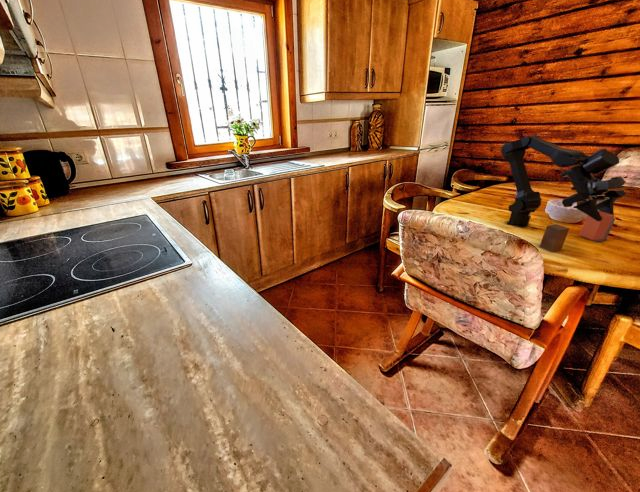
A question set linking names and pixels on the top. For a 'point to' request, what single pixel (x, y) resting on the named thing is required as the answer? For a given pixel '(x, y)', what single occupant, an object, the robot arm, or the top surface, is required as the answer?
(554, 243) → the walnut block
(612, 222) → the slate block
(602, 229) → the terracotta block
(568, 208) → the paper bowls
